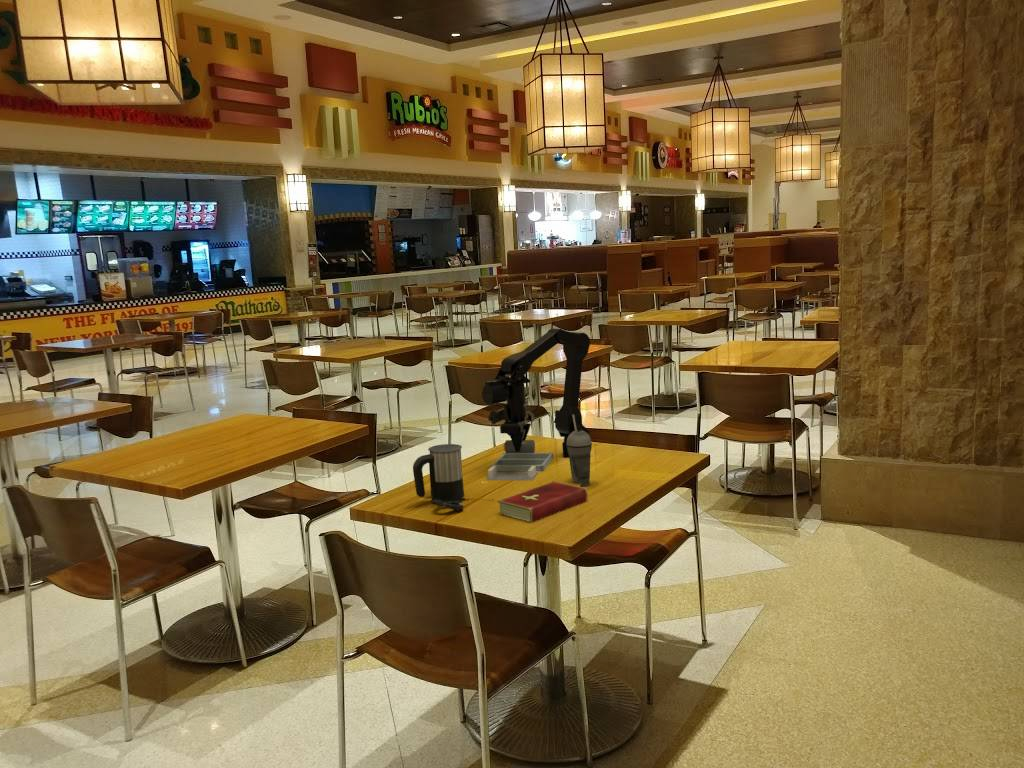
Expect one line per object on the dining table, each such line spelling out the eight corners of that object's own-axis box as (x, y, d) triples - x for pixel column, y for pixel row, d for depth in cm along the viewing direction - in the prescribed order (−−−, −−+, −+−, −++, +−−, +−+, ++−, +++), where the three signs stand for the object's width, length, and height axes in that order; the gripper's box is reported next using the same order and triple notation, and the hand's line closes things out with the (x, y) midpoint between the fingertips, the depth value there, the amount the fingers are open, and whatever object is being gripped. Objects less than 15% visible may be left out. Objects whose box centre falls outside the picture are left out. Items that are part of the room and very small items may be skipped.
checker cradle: (538, 475, 244) (538, 464, 244) (532, 483, 237) (532, 472, 236) (493, 475, 248) (492, 464, 247) (485, 483, 240) (484, 471, 240)
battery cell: (535, 451, 252) (534, 438, 251) (532, 454, 248) (531, 441, 247) (506, 451, 254) (505, 438, 253) (503, 454, 250) (502, 441, 249)
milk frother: (451, 493, 233) (447, 441, 230) (489, 503, 221) (485, 449, 219) (410, 506, 223) (405, 452, 221) (447, 517, 212) (443, 460, 209)
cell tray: (553, 460, 260) (553, 453, 260) (543, 474, 246) (542, 466, 245) (504, 460, 264) (503, 453, 264) (491, 474, 250) (490, 465, 249)
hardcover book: (587, 502, 217) (587, 487, 217) (531, 524, 203) (530, 508, 202) (554, 495, 226) (553, 480, 225) (498, 515, 212) (497, 499, 211)
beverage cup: (592, 488, 228) (589, 417, 225) (566, 488, 230) (562, 417, 227) (595, 480, 235) (592, 411, 232) (570, 480, 237) (566, 412, 234)
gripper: (497, 394, 259) (501, 442, 262) (481, 405, 241) (485, 458, 244) (532, 393, 256) (535, 442, 259) (518, 405, 238) (522, 457, 241)
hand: (519, 450), depth 251 cm, fingers closed on battery cell, 4 cm apart
